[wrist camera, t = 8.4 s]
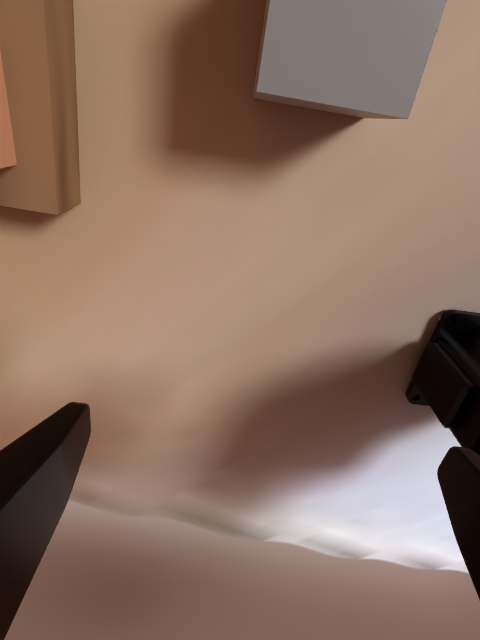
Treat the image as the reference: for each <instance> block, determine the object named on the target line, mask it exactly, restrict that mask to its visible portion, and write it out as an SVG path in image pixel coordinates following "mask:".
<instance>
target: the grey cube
mask: <svg viewBox="0 0 480 640" xmlns="http://www.w3.org/2000/svg"><path fill="white" fill-rule="evenodd" d="M446 1H447V0H266V7H265V14H264V21H263V27H262V34H261V41H260V48H259V55H258V62H257V68H256V75H255V82H254V89H253V96H252V98H254V99H260V100H266V101H271V102H277V103H282V104H288V105H293V106H299V107H305V108H310V109H316V110H321V111H327V112H332V113H338V114H344V115H349V116H355V117H360V118H383V119H408V117H409V114H410V111H411V108H412V105H413V102H414V99H415V96H416V93H417V90H418V87H419V84H420V81H421V77H422V74H423V71H424V68H425V65H426V62H427V59H428V56H429V53H430V50H431V47H432V44H433V41H434V38H435V34H436V31H437V28H438V25H439V22H440V19H441V16H442V13H443V10H444V7H445V4H446Z"/></svg>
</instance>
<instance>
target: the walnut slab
mask: <svg viewBox="0 0 480 640" xmlns="http://www.w3.org/2000/svg"><path fill="white" fill-rule="evenodd" d="M0 51H1V57H2V64H3V71H4V78H5V85H6V92H7V99H8V106H9V113H10V120H11V127H12V134H13V141H14V148H15V155H16V162H17V165H14V166H9V167H5V168H1V169H0V206H5V207H11V208H18V209H24V210H30V211H36V212H42V213H48V214H54V215H59V214H61V213H63V212H65V211H67V210H68V209H70V208H72V207H74V206H76V205H78V204H79V203H81V201H80V174H79V147H78V120H77V93H76V66H75V39H74V12H73V0H0Z"/></svg>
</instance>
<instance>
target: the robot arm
mask: <svg viewBox="0 0 480 640" xmlns="http://www.w3.org/2000/svg"><path fill="white" fill-rule="evenodd" d="M452 317H455V318H454V319H453V320H452V321H449V320H450V319H451V318H452ZM416 394H417V395H416ZM405 395H406V398H407V400H408V401H409V402H410V403H412V404H419V405H427V406H430V407H431V408H432V410H433V411H434V413H435V414H436V416H437V418H438V419H439V421H440V422H441V424H442V425H443V427H445V428H449V429H450V430H451V432H452V433H453V435H454V436H455V438H456V439H457V441H458V442H459V444H460V445H461V447H456V446H454V447H451V448H450V449H449V450H448V452H447V454H446V455H445V457H444V459H443V460H442V462H441V464H440V465H439V467H438V473H437V474H438V480H439V483H440V487H441V490H442V494H443V497H444V501H445V504H446V507H447V511H448V514H449V518H450V521H451V525H452V528H453V531H454V534H455V538H456V540H457V543H458V546H459V549H460V551H461V554H462V556H463V559H464V561H465V564H466V566H467V569H468V571H469V574H470V577H471V579H472V582H473V584H474V587H475V589H476V592H477V594H478V597H479V599H480V313H473V312H466V311H459V310H448V311H446V312H445V313H444V314H443V315H442V316H441V319H440V321H439V323H438V325H437V327H436V329H435V331H434V334H433V336H432V338H431V340H430V342H429V344H428V345H427V346H426V348H425V350H424V353H423V355H422V357H421V359H420V361H419V363H418V365H417V367H416V370H415V372H414V374H413V376H412V380H411V383H410V385H409V387H408V389H407V391H406V394H405ZM414 395H416V396H414ZM90 432H91V423H90V408H89V405H88V404H86V403H78V402H71V403H68V404H67V405H65V406H64V407H62V408H61V409H60V410H58V411H57V412H55V413H54V414H52V415H51V416H49V417H48V418H47V419H45V420H44V421H42V422H41V423H39V424H38V425H36V426H35V427H34V428H32V429H31V430H29V431H28V432H26V433H25V434H23V435H22V436H21V437H19V438H18V439H16V440H15V441H13V442H12V443H11V444H9V445H8V446H6V447H5V448H3V449H2V450H0V640H4V639H5V636H6V634H7V632H8V630H9V627H10V626H11V623H12V621H13V619H14V617H15V615H16V613H17V610H18V608H19V606H20V604H21V602H22V600H23V598H24V595H25V593H26V590H27V589H28V587H29V585H30V582H31V580H32V578H33V576H34V574H35V572H36V570H37V567H38V565H39V563H40V561H41V558H42V557H43V555H44V552H45V550H46V548H47V546H48V544H49V542H50V539H51V537H52V535H53V533H54V531H55V528H56V526H57V524H58V522H59V520H60V518H61V516H62V513H63V511H64V509H65V507H66V504H67V502H68V500H69V497H70V494H71V491H72V488H73V485H74V482H75V479H76V476H77V473H78V471H79V468H80V465H81V462H82V459H83V456H84V453H85V450H86V447H87V444H88V441H89V437H90Z"/></svg>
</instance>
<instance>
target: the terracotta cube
mask: <svg viewBox="0 0 480 640" xmlns="http://www.w3.org/2000/svg"><path fill="white" fill-rule="evenodd" d="M14 165H17V162H16V155H15V148H14V141H13V134H12V127H11V120H10V113H9V106H8V99H7V92H6V85H5V78H4V71H3V64H2V57H1V51H0V169H1V168H5V167H9V166H14Z"/></svg>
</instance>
